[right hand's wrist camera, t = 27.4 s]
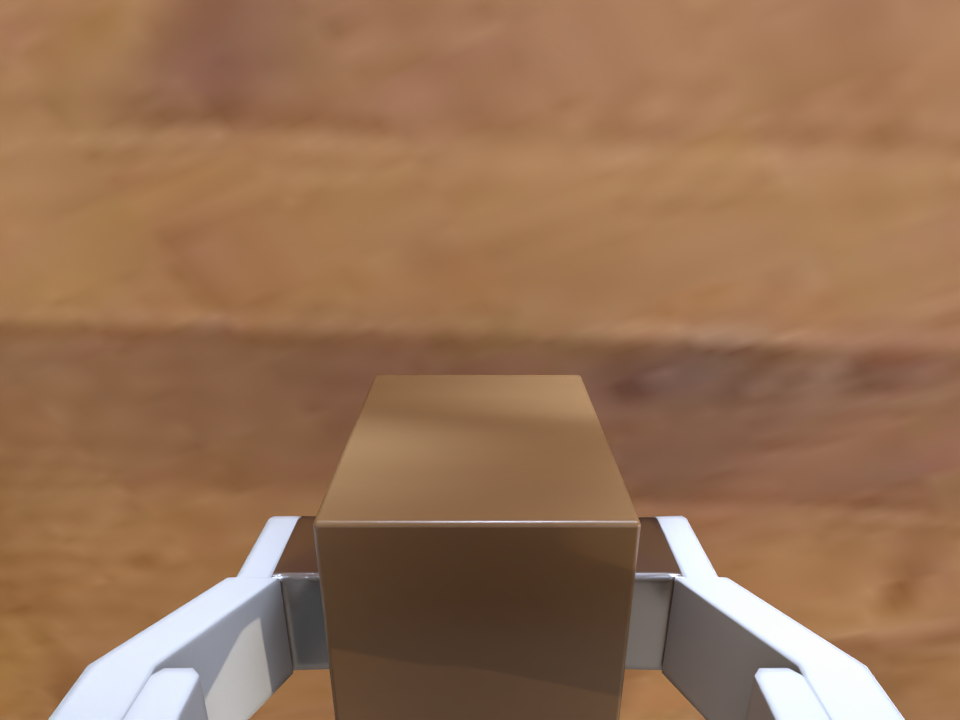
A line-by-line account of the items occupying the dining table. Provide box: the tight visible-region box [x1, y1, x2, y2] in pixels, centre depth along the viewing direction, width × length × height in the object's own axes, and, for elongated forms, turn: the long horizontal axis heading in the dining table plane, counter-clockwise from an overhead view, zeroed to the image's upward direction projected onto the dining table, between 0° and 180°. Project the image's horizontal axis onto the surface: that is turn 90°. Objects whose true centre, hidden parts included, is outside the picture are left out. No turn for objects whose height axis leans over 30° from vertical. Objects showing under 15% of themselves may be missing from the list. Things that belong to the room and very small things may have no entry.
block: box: [313, 375, 641, 720], centre depth 11 cm, size 4×5×5 cm
